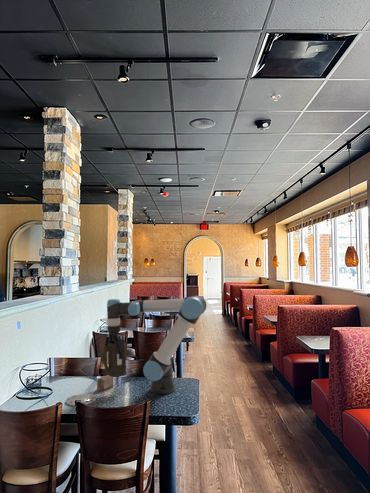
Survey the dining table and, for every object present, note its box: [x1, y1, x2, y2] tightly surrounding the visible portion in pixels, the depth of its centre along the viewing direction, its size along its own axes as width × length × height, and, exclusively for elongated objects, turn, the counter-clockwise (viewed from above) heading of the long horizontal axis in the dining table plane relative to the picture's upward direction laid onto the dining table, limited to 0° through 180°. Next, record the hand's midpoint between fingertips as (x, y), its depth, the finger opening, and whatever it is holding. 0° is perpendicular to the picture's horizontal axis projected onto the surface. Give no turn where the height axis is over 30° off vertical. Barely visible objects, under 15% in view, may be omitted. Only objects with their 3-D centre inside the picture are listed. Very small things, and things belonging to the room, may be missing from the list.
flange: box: [65, 393, 96, 407], centre depth 214 cm, size 16×16×1 cm
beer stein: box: [101, 340, 128, 378], centre depth 226 cm, size 15×11×20 cm
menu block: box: [96, 374, 114, 392], centre depth 235 cm, size 5×9×7 cm, turn 149°
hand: (114, 363), depth 226 cm, fingers closed on beer stein, 9 cm apart
